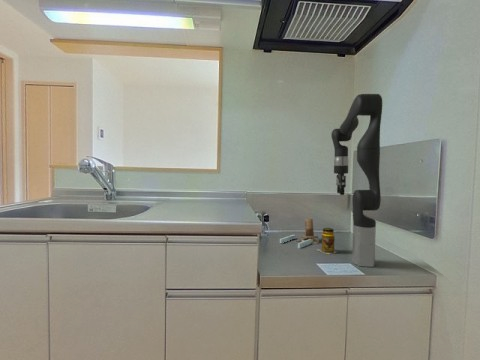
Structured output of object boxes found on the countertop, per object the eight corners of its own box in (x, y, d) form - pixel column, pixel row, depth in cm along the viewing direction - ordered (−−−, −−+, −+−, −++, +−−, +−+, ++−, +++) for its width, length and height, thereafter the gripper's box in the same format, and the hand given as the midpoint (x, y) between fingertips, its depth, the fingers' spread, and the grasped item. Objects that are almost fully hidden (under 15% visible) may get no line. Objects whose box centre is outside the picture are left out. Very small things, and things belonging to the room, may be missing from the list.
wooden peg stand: (319, 238, 153) (317, 218, 156) (303, 238, 154) (301, 218, 157) (316, 238, 162) (315, 219, 165) (301, 238, 163) (300, 219, 165)
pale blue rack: (293, 238, 165) (293, 234, 164) (313, 242, 155) (313, 238, 155) (279, 243, 155) (279, 239, 155) (299, 248, 145) (299, 243, 145)
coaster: (320, 244, 153) (320, 243, 153) (301, 243, 154) (301, 242, 154) (318, 239, 163) (318, 238, 162) (301, 238, 164) (301, 237, 164)
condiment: (328, 254, 135) (328, 230, 134) (315, 250, 142) (315, 227, 142) (338, 252, 139) (338, 229, 138) (325, 248, 146) (325, 225, 145)
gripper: (332, 164, 159) (331, 192, 160) (336, 165, 145) (335, 195, 146) (345, 164, 157) (345, 192, 158) (351, 164, 143) (350, 195, 144)
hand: (340, 194), depth 152 cm, fingers open, 8 cm apart
